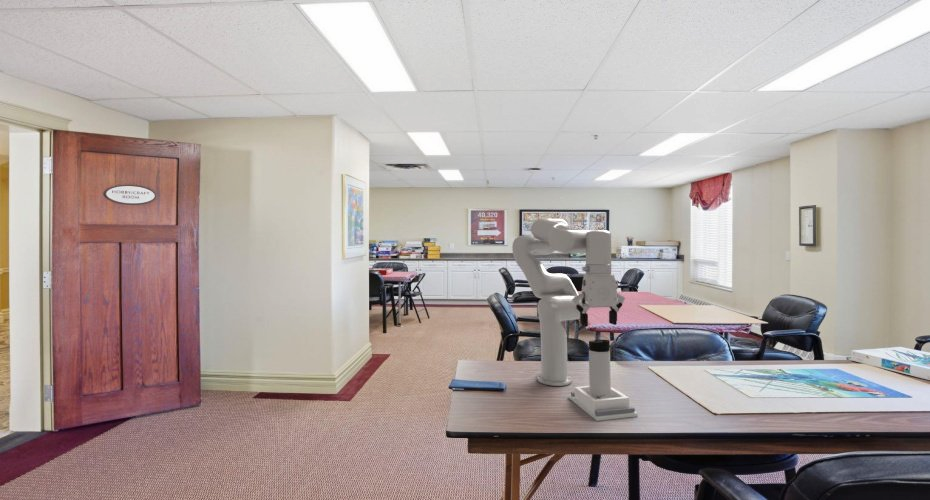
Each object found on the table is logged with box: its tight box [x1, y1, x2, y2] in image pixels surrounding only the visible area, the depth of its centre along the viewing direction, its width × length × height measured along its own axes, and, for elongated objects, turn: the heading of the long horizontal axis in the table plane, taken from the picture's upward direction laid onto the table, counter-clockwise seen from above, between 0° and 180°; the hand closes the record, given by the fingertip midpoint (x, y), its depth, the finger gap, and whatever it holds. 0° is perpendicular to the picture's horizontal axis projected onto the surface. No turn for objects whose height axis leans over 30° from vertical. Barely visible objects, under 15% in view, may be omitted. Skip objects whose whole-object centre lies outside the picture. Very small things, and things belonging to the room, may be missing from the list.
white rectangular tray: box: [568, 385, 639, 422], centre depth 125 cm, size 18×13×4 cm
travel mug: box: [588, 339, 612, 399], centre depth 125 cm, size 6×7×20 cm
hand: (598, 324), depth 125 cm, fingers open, 9 cm apart
